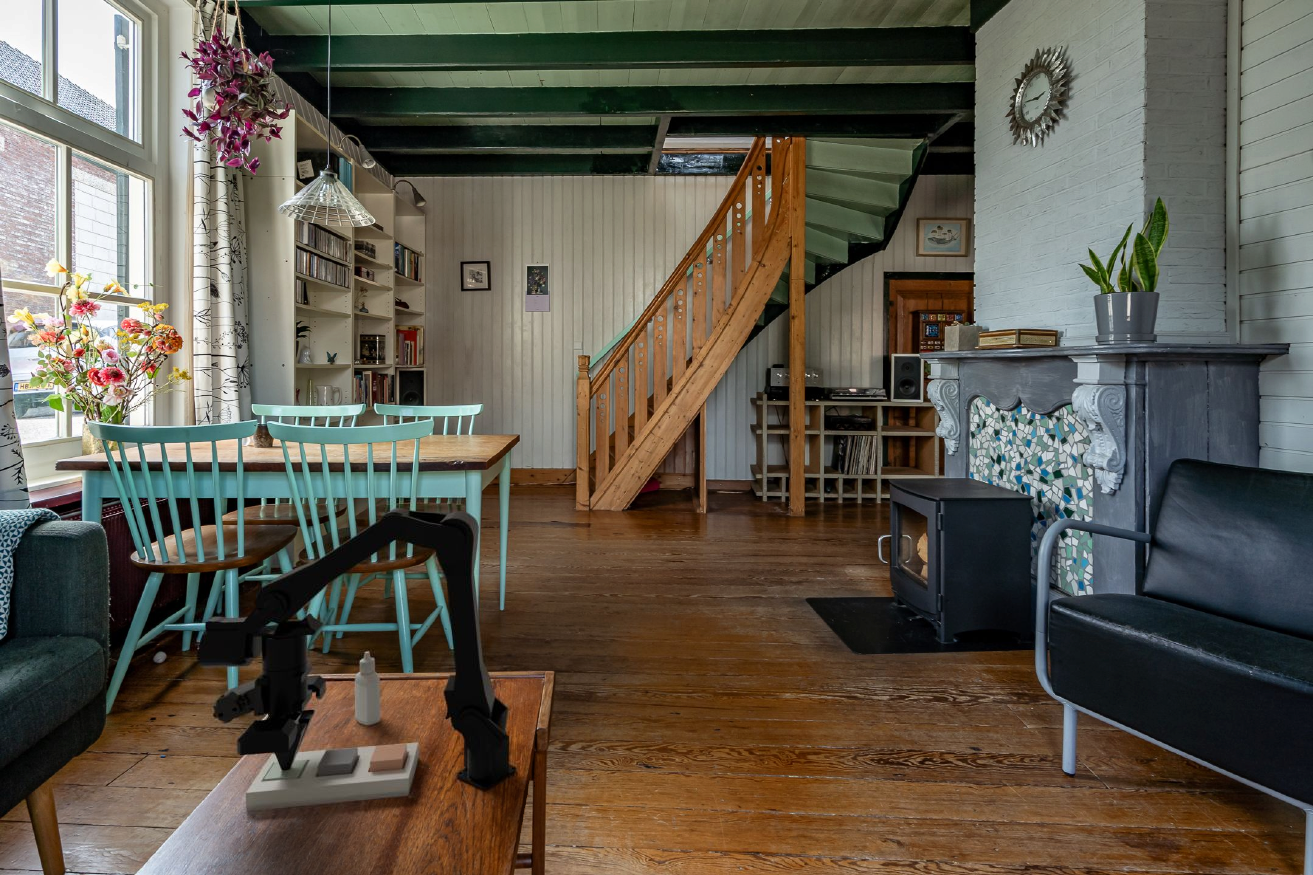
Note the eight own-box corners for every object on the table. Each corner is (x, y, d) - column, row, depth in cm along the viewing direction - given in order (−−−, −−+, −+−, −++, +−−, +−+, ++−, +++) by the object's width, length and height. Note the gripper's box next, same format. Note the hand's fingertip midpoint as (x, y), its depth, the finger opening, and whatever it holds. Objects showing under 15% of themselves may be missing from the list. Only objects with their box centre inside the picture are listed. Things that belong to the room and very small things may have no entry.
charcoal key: (357, 760, 102) (357, 747, 102) (350, 776, 98) (350, 763, 97) (326, 762, 101) (326, 749, 101) (317, 779, 97) (317, 765, 97)
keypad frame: (418, 758, 106) (418, 742, 106) (408, 795, 97) (408, 777, 96) (272, 770, 102) (271, 754, 102) (246, 811, 92) (245, 792, 92)
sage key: (307, 772, 100) (307, 759, 100) (298, 789, 96) (297, 775, 96) (275, 775, 100) (274, 762, 99) (264, 792, 95) (263, 778, 95)
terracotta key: (406, 756, 103) (406, 743, 103) (402, 772, 99) (402, 758, 99) (376, 758, 102) (376, 745, 102) (370, 774, 98) (369, 761, 98)
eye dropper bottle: (351, 728, 115) (351, 659, 115) (356, 713, 121) (355, 647, 120) (379, 725, 117) (379, 657, 116) (382, 710, 122) (382, 645, 121)
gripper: (248, 642, 104) (250, 740, 105) (191, 696, 86) (193, 814, 87) (326, 639, 107) (327, 735, 108) (286, 690, 88) (288, 805, 89)
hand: (286, 769), depth 98 cm, fingers closed, pressing on sage key
